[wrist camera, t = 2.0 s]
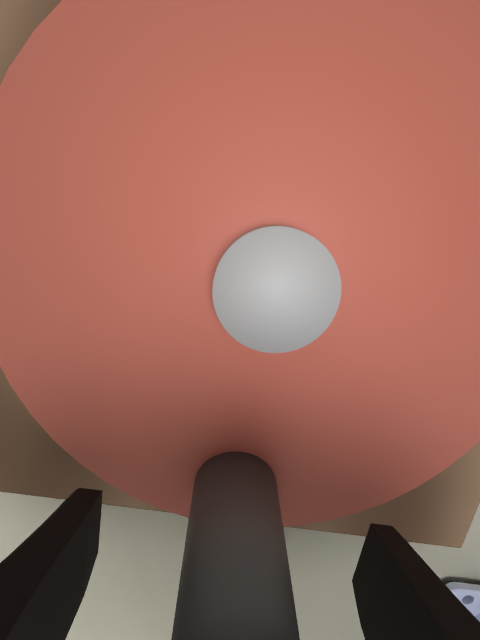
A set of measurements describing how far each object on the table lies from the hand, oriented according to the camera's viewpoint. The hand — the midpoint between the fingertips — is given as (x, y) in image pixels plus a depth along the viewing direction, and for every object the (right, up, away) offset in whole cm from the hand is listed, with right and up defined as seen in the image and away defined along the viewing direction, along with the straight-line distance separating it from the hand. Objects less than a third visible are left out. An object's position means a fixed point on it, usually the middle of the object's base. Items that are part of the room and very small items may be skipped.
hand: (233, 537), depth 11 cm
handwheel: (+1, +7, +1) cm, 7 cm away
